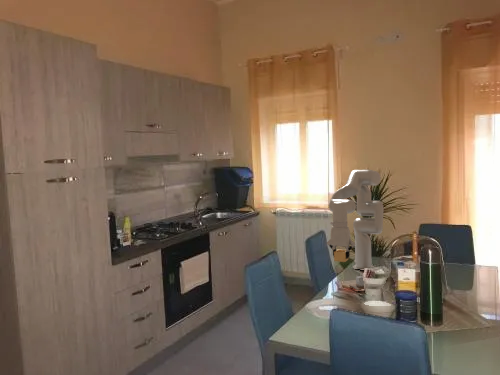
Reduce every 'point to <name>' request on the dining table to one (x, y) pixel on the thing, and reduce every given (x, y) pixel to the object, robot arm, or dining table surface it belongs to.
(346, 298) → the dining table surface
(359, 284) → the post
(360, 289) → the base plate
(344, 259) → the orange cube
